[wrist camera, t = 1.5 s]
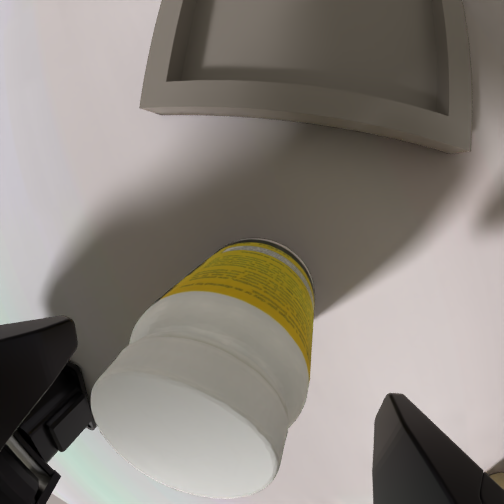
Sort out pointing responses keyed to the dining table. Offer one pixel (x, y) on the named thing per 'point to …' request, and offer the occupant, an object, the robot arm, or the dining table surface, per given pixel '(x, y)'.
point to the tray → (318, 65)
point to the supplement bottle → (214, 373)
